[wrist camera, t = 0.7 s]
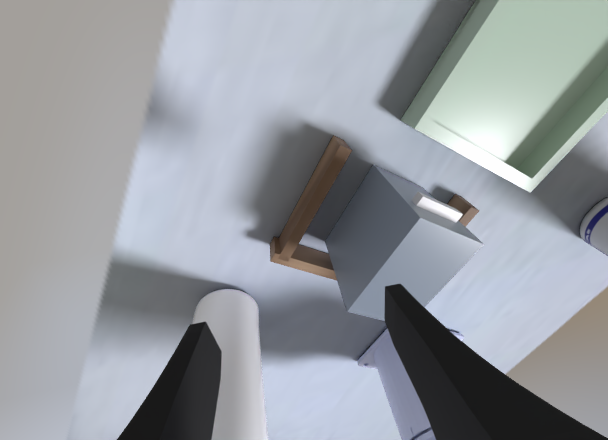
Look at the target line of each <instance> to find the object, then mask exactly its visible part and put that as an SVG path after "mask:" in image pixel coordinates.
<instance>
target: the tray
mask: <svg viewBox="0 0 608 440" xmlns="http://www.w3.org/2000/svg"><path fill="white" fill-rule="evenodd" d="M607 111H608V0H475V2H474V4H473V5H472V7H471V8H470V10H469V12H468V13H467V15H466V16H465V18H464V20H463V21H462V23H461V24H460V26H459V28H458V29H457V31H456V32H455V34H454V36H453V37H452V39H451V40H450V42H449V44H448V45H447V47H446V48H445V50H444V52H443V53H442V55H441V56H440V58H439V60H438V61H437V63H436V64H435V66H434V68H433V69H432V71H431V72H430V74H429V76H428V77H427V79H426V80H425V82H424V83H423V85H422V87H421V88H420V90H419V91H418V93H417V95H416V96H415V98H414V99H413V101H412V103H411V104H410V106H409V107H408V109H407V111H406V112H405V114H404V115H403V117H402V119H401V120H400V121H402V122H404V123H405V124H407V125H409V126H410V127H412V128H414V129H416V130H417V131H419V132H421V133H423V134H425V135H426V136H428V137H430V138H432V139H434V140H436V141H437V142H439V143H441V144H443V145H445V146H446V147H448V148H450V149H452V150H454V151H456V152H457V153H459V154H461V155H463V156H465V157H466V158H468V159H470V160H472V161H474V162H476V163H477V164H479V165H481V166H483V167H485V168H486V169H488V170H490V171H492V172H494V173H495V174H497V175H499V176H501V177H503V178H505V179H506V180H508V181H510V182H512V183H514V184H515V185H517V186H519V187H521V188H523V189H525V190H526V191H528V192H530V193H531V191H532V190H533V189H534V188H535V187H536V186H537V185H538V184H539V183H540V182H541V181H542V180H543V179H544V178H545V177H546V176H547V175H548V174H549V173H550V171H551V170H552V169H553V168H554V167H555V166H556V165H557V164H558V163H559V162H560V161H561V160H562V159H563V158H564V157H565V156H566V155H567V154H568V153H569V151H570V150H571V149H572V148H573V147H574V146H575V145H576V144H577V143H578V142H579V141H580V140H581V139H582V138H583V137H584V136H585V135H586V134H587V133H588V131H589V130H590V129H591V128H592V127H593V126H594V125H595V124H596V123H597V122H598V121H599V120H600V119H601V118H602V117H603V116H604V115H605V114H606V113H607Z"/></svg>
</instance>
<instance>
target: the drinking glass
mask: <svg viewBox="0 0 608 440" xmlns="http://www.w3.org/2000/svg"><path fill="white" fill-rule="evenodd" d="M201 322H206V323H207V325H208V326H209V328H210V330H211V332H212V334H213V336H214V338H215V340H216V342H217V344H218V346H219V347H220V349H221V351H222V358H221V380H220V387H219V394H218V401H217V407H216V414H215V420H214V426H213V433H212V439H211V440H268V429H267V418H266V406H265V395H264V384H263V372H262V360H261V348H260V335H259V309H258V305H257V303H256V301H255V300H254V299H253V298H252V297H251V296H250V295H248V294H247V293H245V292H242V291H239V290H235V289H221V290H216V291H213V292H211V293H209V294H207V295H206V296H204V297H203V298H202V299H201V300H200V301H199V303H198V305H197V307H196V310H195V313H194V317H193V321H192V324H196V323H201Z"/></svg>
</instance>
